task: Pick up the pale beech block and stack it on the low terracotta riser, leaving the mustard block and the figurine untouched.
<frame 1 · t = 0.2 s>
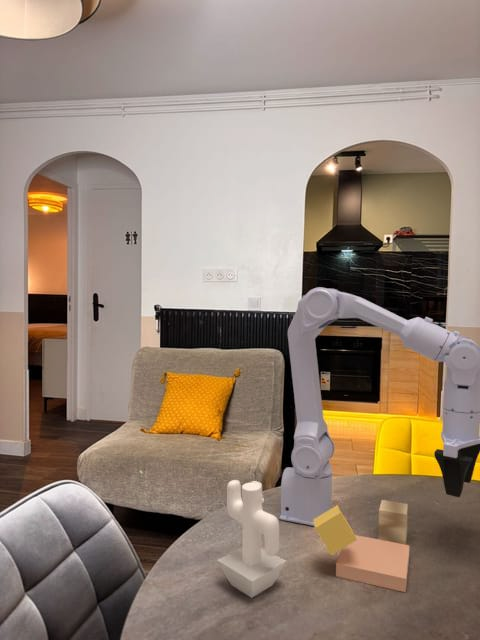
hand: (458, 487, 81), 10 cm above the table, tool pointing down, fingers open, 7 cm apart
mustard block: (342, 542, 73), point 4 cm above the table, tilted 34°
figurine: (251, 586, 70), on the table
riser: (373, 566, 75), on the table
beech block: (392, 537, 84), on the table
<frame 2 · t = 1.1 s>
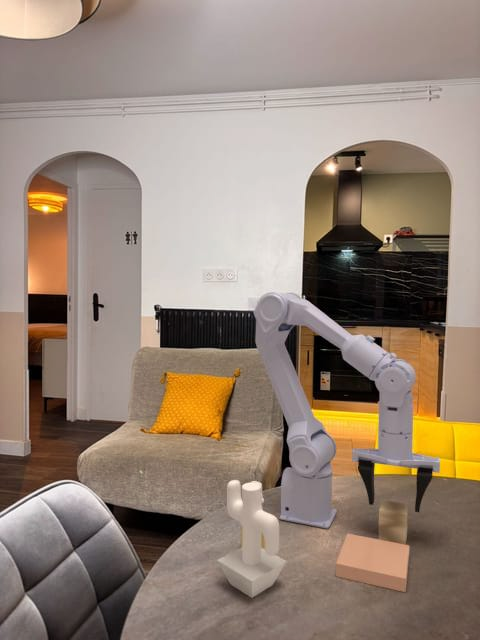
hand: (394, 506, 84), 6 cm above the table, tool pointing down, fingers open, 7 cm apart
mustard block: (247, 533, 81), point 2 cm above the table, tilted 90°
everything else where it was.
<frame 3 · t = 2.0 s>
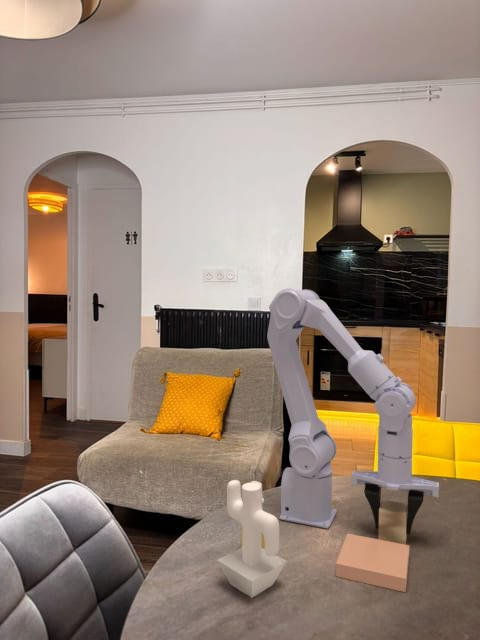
hand: (393, 529, 84), 1 cm above the table, tool pointing down, fingers closed on beech block, 4 cm apart
beech block: (392, 536, 84), on the table, touching gripper
everything else where it was.
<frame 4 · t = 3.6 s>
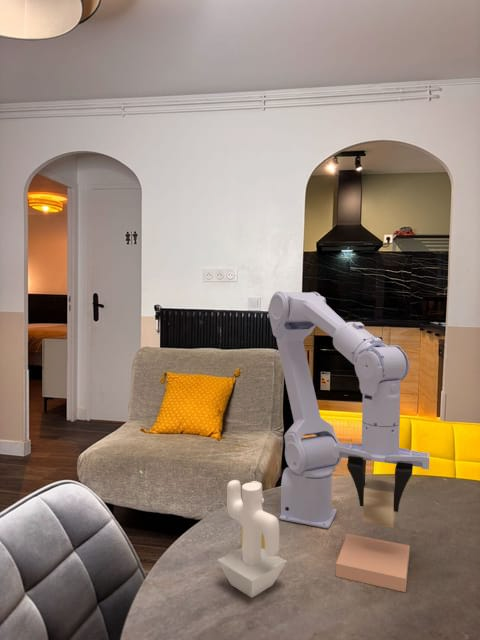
hand: (379, 506, 76), 9 cm above the table, tool pointing down, fingers closed on beech block, 4 cm apart
beech block: (379, 519, 76), point 7 cm above the table, touching gripper
everything else where it was.
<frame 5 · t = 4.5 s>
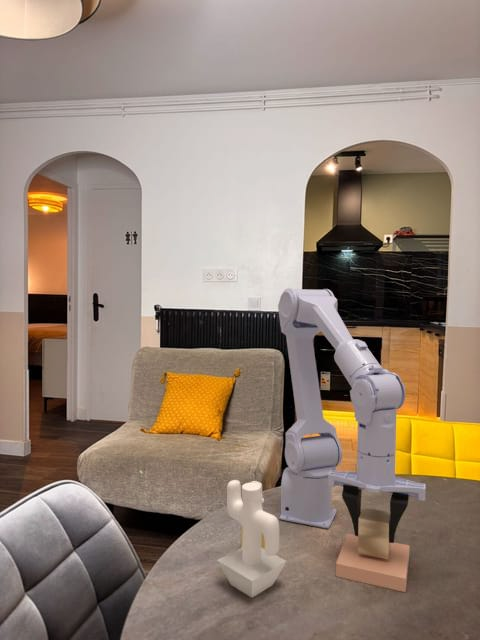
hand: (374, 536, 74), 5 cm above the table, tool pointing down, fingers closed on beech block, 4 cm apart
beech block: (374, 549, 75), point 3 cm above the table, touching gripper
everything else where it was.
when the fingers open (5 cm above the table, at t = 5.0 s): beech block stays where it is, resting on riser.
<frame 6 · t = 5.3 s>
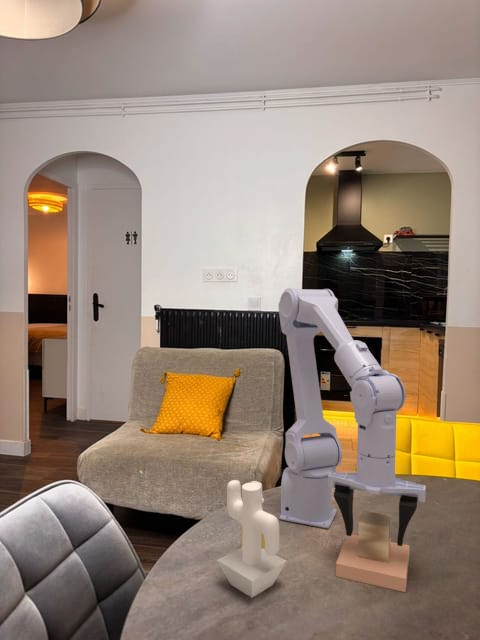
hand: (374, 537, 74), 5 cm above the table, tool pointing down, fingers open, 7 cm apart
beech block: (374, 552, 75), point 2 cm above the table, touching riser
everything else where it was.
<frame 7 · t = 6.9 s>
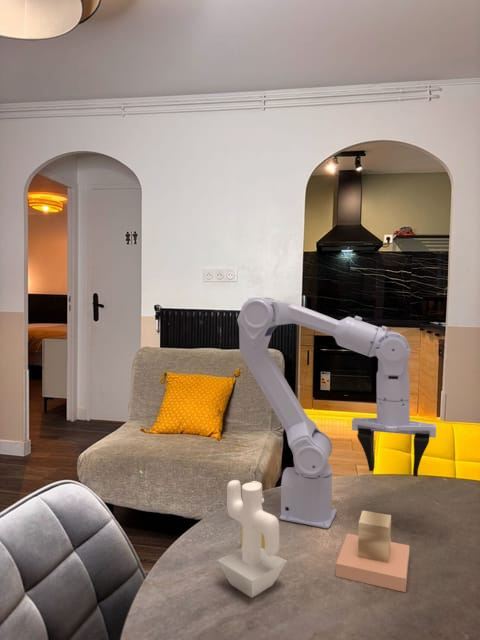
hand: (393, 471, 87), 10 cm above the table, tool pointing down, fingers open, 7 cm apart
nothing on the table moved.
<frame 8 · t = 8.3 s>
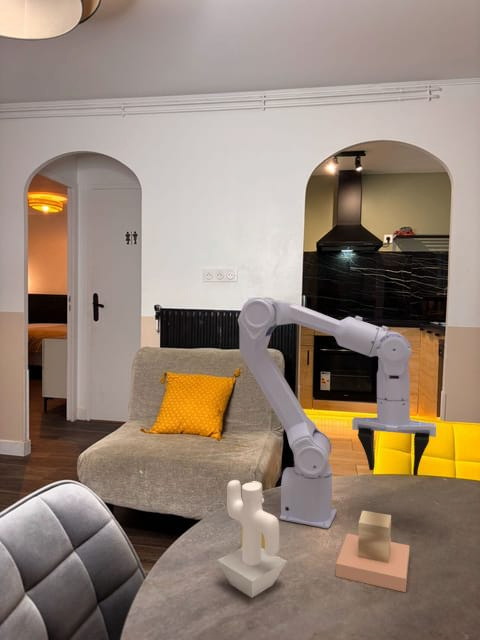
hand: (393, 471, 87), 10 cm above the table, tool pointing down, fingers open, 7 cm apart
nothing on the table moved.
at the end: beech block 0.4 cm off-centre on the riser, point 2.0 cm above the riser's base; beech block tilted 0°; the gripper is holding nothing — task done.
